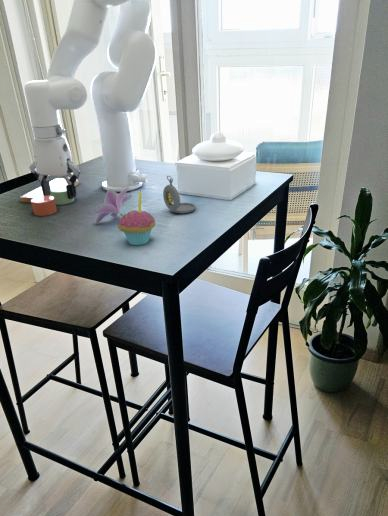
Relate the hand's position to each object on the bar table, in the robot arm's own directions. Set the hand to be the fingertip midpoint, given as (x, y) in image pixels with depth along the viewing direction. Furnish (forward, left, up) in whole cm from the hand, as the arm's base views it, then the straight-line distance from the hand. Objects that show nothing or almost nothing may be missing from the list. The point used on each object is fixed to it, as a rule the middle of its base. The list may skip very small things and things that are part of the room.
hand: (59, 196), depth 140 cm
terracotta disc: (-1, +9, -2) cm, 9 cm away
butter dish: (-42, -21, -2) cm, 47 cm away
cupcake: (-36, +23, -2) cm, 42 cm away
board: (+8, -7, -2) cm, 11 cm away
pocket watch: (-38, +1, -2) cm, 38 cm away
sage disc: (-1, 0, -2) cm, 2 cm away
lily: (-25, +13, -2) cm, 28 cm away
